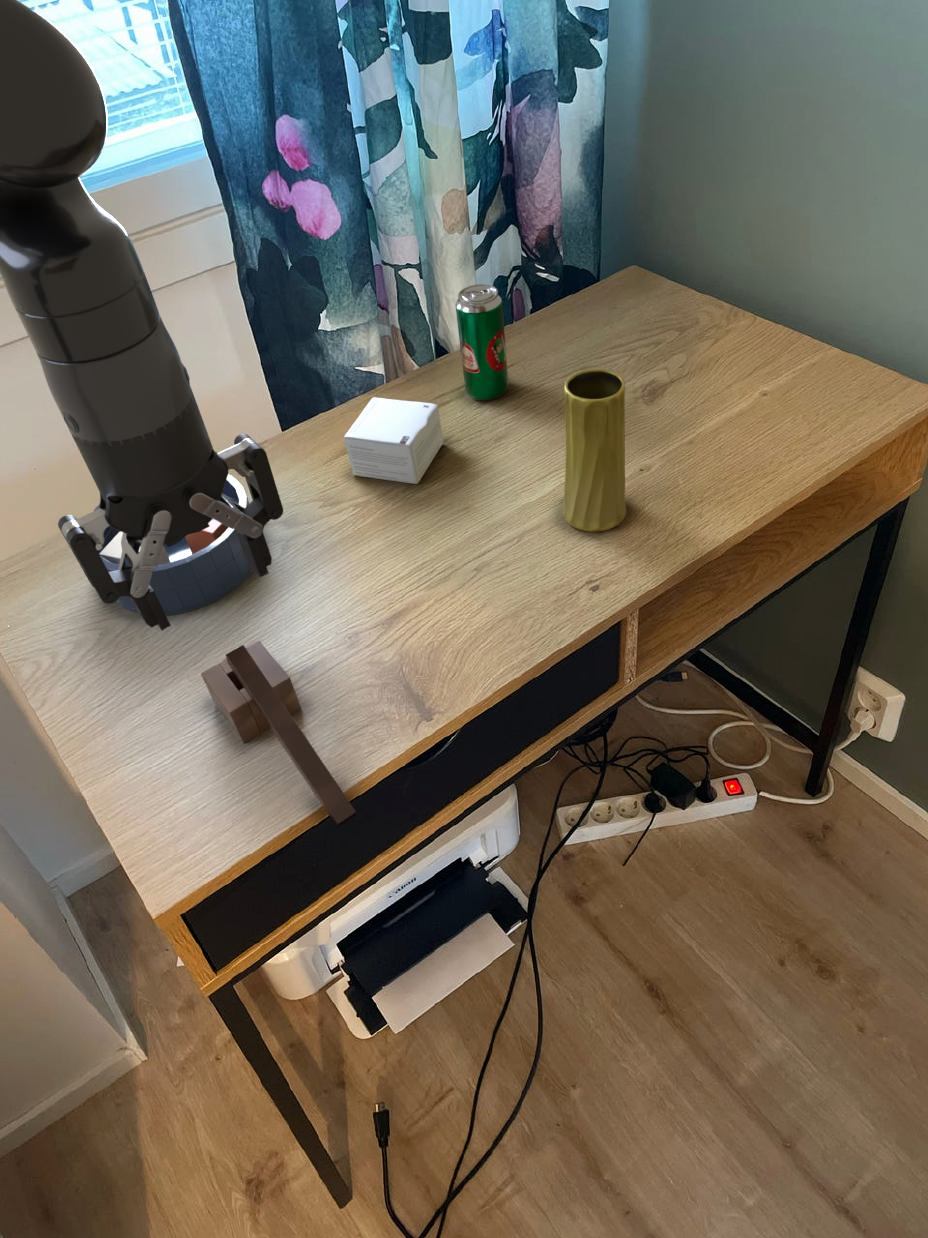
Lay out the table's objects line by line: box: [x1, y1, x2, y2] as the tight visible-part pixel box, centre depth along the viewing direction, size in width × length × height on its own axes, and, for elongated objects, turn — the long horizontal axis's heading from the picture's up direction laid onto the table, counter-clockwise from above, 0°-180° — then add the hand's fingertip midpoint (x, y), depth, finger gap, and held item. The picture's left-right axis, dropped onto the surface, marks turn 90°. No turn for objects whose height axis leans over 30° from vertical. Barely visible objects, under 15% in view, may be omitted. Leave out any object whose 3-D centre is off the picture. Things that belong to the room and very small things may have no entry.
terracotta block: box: [185, 519, 229, 554], centre depth 87 cm, size 4×4×4 cm
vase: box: [562, 368, 627, 533], centre depth 82 cm, size 6×6×14 cm
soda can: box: [455, 283, 509, 401], centre depth 100 cm, size 5×5×12 cm
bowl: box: [93, 473, 253, 616], centre depth 87 cm, size 16×16×6 cm
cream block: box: [99, 531, 171, 565], centre depth 85 cm, size 4×4×4 cm
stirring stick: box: [225, 644, 357, 827], centre depth 68 cm, size 2×2×16 cm
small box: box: [343, 396, 444, 485], centre depth 95 cm, size 8×8×5 cm
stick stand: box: [200, 640, 302, 744], centre depth 73 cm, size 5×5×4 cm
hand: (211, 596), depth 65 cm, fingers open, 7 cm apart
